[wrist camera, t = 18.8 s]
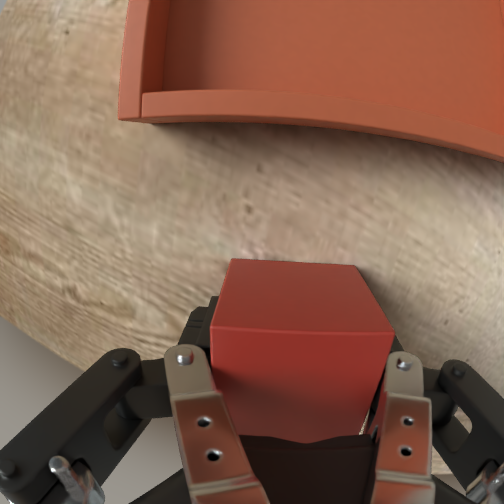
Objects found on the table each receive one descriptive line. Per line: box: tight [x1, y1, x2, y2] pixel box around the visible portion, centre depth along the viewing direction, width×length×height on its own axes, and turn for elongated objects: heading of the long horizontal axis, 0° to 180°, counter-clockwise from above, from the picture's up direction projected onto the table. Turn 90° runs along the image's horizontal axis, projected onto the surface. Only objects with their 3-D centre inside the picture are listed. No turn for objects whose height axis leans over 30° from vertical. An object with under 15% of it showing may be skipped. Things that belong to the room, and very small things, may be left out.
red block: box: [210, 259, 395, 443], centre depth 11 cm, size 5×5×5 cm
